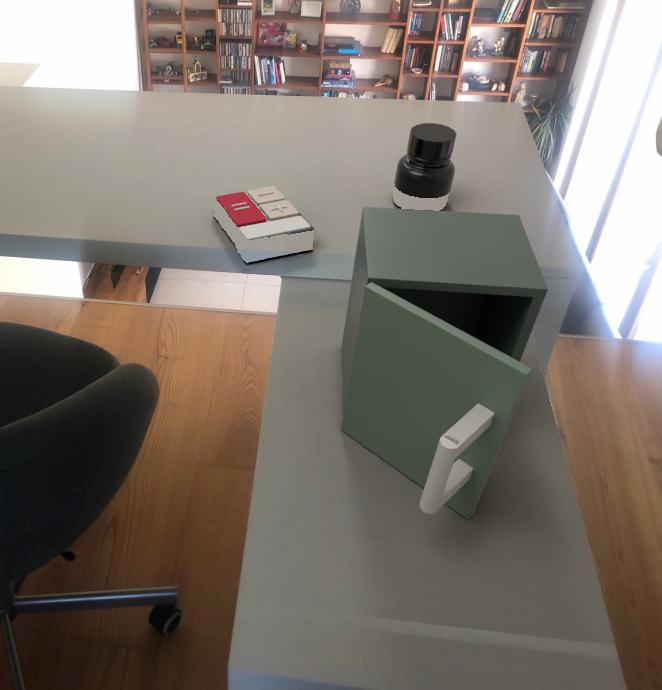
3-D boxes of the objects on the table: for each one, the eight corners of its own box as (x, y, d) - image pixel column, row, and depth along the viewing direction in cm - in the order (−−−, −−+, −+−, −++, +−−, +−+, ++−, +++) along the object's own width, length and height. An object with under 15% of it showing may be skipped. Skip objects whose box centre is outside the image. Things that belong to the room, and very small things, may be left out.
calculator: (275, 182, 112) (316, 224, 100) (275, 206, 114) (314, 250, 103) (211, 194, 109) (245, 238, 98) (212, 218, 112) (245, 264, 101)
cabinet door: (430, 559, 64) (483, 414, 51) (301, 459, 73) (319, 315, 60) (473, 514, 68) (533, 368, 55) (346, 424, 77) (371, 281, 64)
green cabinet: (491, 436, 76) (548, 289, 62) (343, 423, 77) (367, 277, 64) (472, 356, 85) (519, 214, 72) (341, 346, 87) (362, 206, 74)
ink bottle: (445, 189, 116) (461, 120, 108) (453, 217, 110) (471, 146, 102) (386, 187, 117) (397, 119, 109) (391, 214, 111) (404, 144, 103)
